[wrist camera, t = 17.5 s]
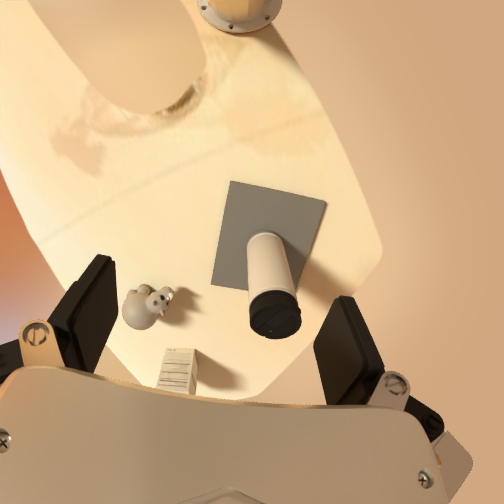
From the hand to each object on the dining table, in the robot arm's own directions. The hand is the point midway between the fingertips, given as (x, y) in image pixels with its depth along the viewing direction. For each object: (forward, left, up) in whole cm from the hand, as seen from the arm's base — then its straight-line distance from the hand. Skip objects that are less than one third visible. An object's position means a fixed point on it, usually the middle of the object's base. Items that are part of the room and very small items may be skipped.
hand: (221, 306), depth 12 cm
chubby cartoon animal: (+30, -11, -37) cm, 49 cm away
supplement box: (+49, -4, -37) cm, 61 cm away
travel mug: (+15, +8, -36) cm, 39 cm away
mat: (+15, +8, -36) cm, 40 cm away
